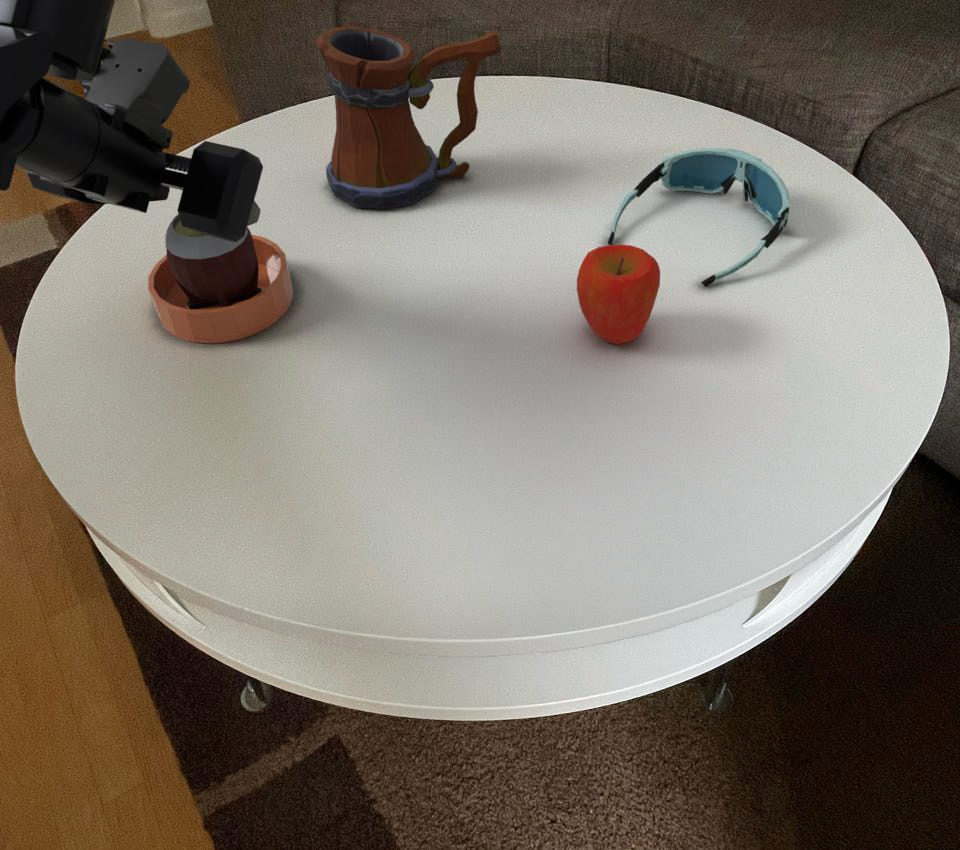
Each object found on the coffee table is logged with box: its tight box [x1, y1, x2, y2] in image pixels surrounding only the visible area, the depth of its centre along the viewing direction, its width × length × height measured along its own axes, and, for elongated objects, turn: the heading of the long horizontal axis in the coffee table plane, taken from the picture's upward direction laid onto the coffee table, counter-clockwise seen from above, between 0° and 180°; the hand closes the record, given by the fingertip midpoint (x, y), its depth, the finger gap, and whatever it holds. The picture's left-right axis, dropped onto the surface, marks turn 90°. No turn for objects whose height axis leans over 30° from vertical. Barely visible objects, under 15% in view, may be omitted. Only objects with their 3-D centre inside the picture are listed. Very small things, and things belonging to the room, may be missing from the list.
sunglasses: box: [607, 147, 792, 287], centre depth 83 cm, size 14×15×5 cm
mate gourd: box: [164, 213, 262, 309], centre depth 73 cm, size 8×8×15 cm
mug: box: [315, 25, 502, 210], centre depth 88 cm, size 18×12×15 cm, turn 93°
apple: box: [576, 244, 661, 345], centre depth 72 cm, size 6×6×8 cm
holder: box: [147, 234, 294, 344], centre depth 78 cm, size 12×12×3 cm
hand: (211, 204), depth 74 cm, fingers open, 9 cm apart
